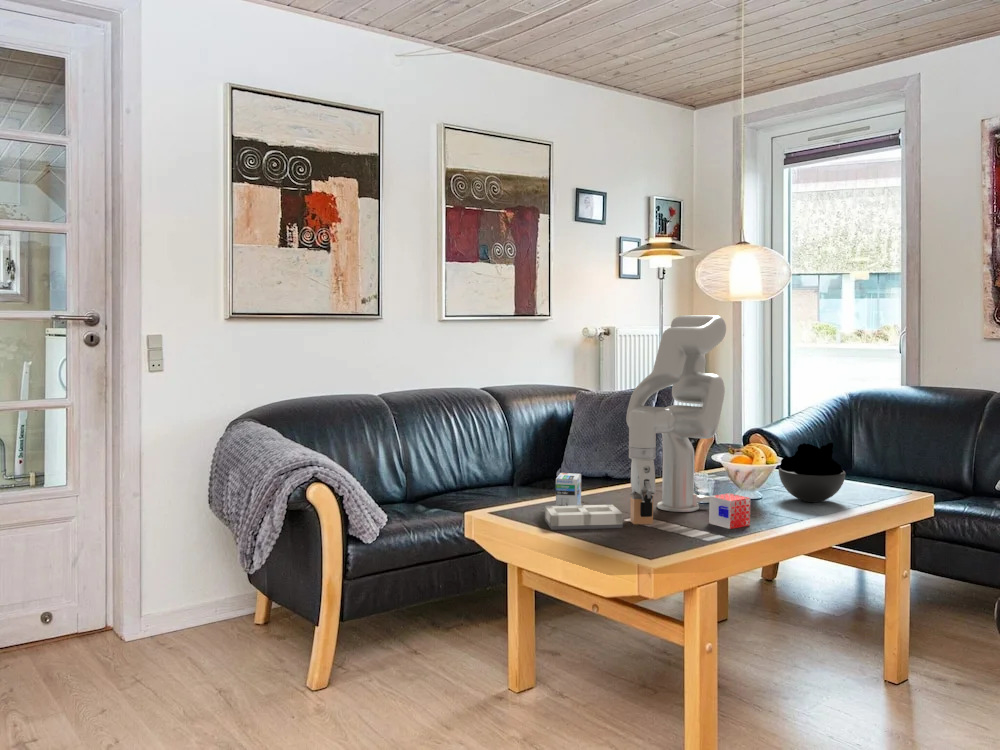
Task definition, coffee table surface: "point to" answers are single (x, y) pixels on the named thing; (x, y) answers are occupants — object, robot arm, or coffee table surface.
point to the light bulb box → (568, 489)
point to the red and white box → (729, 510)
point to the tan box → (638, 510)
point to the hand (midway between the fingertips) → (641, 512)
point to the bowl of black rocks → (811, 473)
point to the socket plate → (583, 517)
